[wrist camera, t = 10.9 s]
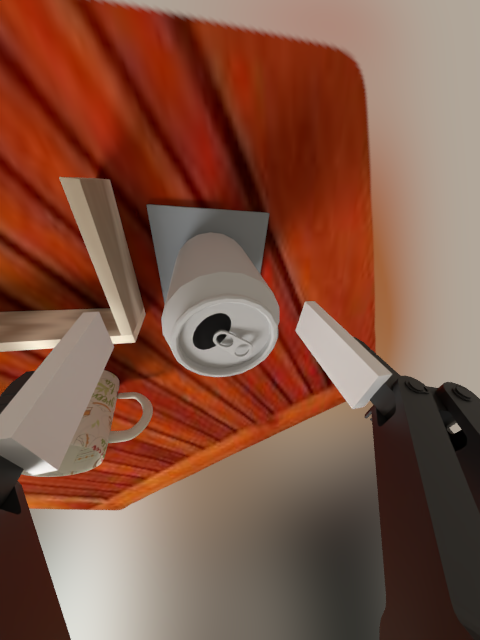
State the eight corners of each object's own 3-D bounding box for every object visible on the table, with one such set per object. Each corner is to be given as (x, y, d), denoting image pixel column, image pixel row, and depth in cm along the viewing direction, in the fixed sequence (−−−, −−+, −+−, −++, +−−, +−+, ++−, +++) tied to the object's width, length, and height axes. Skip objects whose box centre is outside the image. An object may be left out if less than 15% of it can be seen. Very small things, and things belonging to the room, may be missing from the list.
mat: (166, 309, 23) (166, 312, 22) (147, 204, 16) (146, 204, 16) (253, 306, 25) (254, 309, 24) (267, 212, 18) (269, 213, 18)
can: (198, 212, 17) (202, 253, 7) (259, 257, 20) (315, 324, 11) (163, 278, 20) (133, 368, 10) (222, 307, 23) (240, 394, 14)
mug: (53, 360, 24) (-16, 449, 16) (159, 364, 28) (145, 436, 20) (68, 397, 28) (18, 481, 20) (157, 396, 32) (144, 466, 24)
